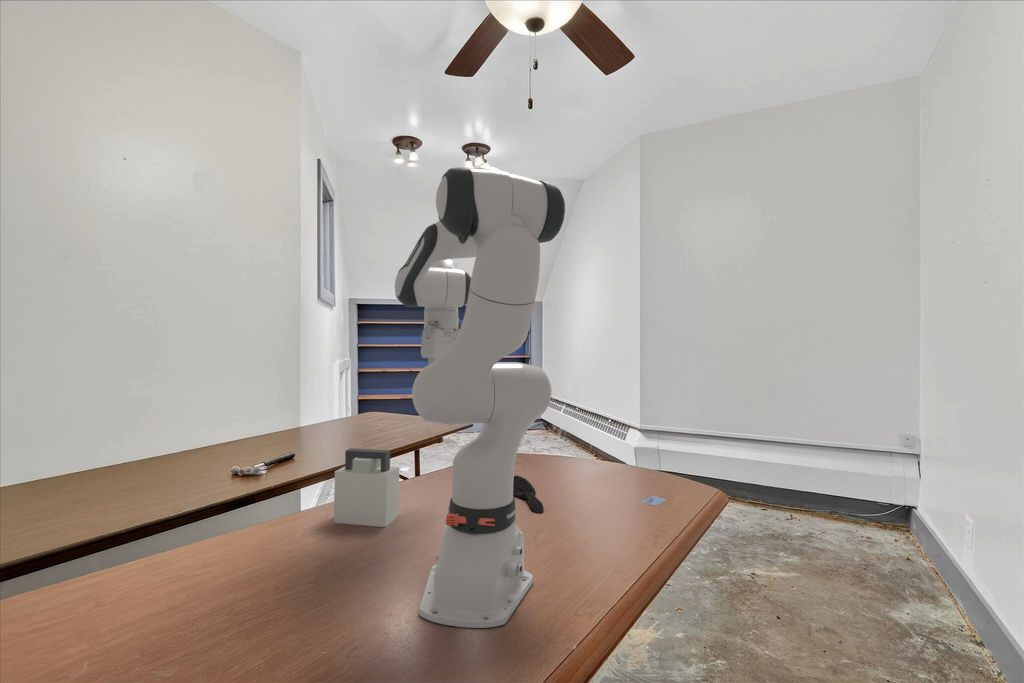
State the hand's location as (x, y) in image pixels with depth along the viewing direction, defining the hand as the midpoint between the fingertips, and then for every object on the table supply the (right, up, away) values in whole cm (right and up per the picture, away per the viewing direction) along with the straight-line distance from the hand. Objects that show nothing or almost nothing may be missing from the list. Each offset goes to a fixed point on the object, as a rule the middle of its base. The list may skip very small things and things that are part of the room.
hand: (440, 375), depth 123 cm
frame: (-16, -22, -11) cm, 29 cm away
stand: (-16, -34, -11) cm, 39 cm away
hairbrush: (+23, -35, +7) cm, 43 cm away
